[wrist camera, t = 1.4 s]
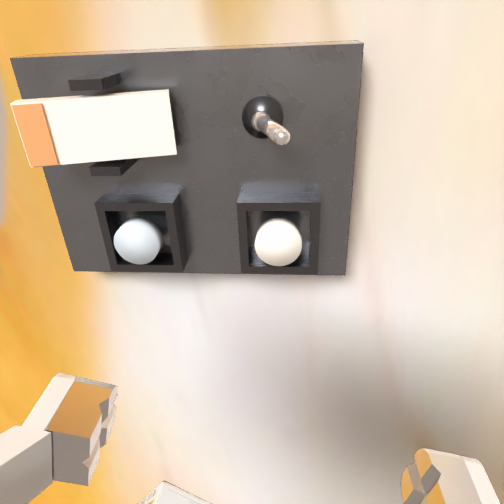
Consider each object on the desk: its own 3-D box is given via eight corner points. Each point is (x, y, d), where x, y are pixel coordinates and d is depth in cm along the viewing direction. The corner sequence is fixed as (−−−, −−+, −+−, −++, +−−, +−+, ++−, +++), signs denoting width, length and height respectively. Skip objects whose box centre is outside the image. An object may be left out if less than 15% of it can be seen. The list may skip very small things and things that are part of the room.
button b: (159, 217, 29) (154, 224, 28) (166, 256, 31) (161, 264, 30) (116, 217, 30) (109, 224, 29) (124, 255, 31) (118, 264, 30)
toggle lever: (267, 108, 26) (295, 125, 22) (267, 128, 27) (295, 148, 22) (248, 110, 26) (273, 128, 21) (249, 129, 26) (273, 151, 22)
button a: (302, 217, 28) (302, 225, 27) (301, 257, 30) (301, 266, 29) (255, 217, 29) (253, 224, 28) (257, 257, 30) (255, 265, 29)
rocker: (168, 86, 27) (168, 92, 25) (176, 145, 29) (177, 155, 27) (22, 96, 26) (9, 104, 24) (40, 156, 28) (29, 168, 26)
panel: (357, 40, 27) (371, 46, 22) (341, 255, 35) (349, 296, 30) (35, 54, 29) (-20, 62, 24) (89, 253, 37) (56, 290, 32)
